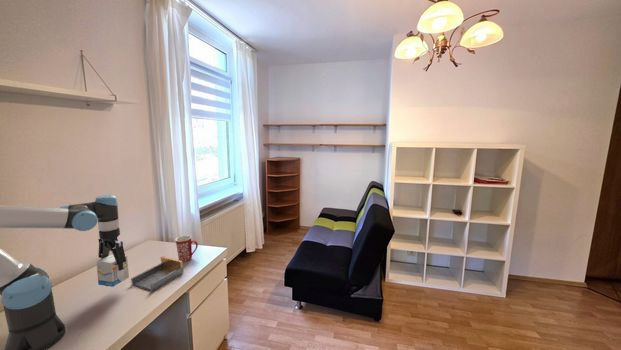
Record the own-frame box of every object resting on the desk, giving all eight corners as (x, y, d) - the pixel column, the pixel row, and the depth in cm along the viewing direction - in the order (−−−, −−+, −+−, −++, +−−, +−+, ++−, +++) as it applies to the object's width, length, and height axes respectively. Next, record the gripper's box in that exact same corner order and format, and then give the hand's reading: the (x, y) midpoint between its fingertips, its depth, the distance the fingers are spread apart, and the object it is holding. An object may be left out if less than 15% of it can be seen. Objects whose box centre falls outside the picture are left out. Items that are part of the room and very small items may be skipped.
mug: (173, 262, 151) (171, 241, 148) (181, 255, 159) (180, 235, 157) (194, 262, 150) (193, 241, 148) (201, 255, 159) (200, 235, 157)
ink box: (112, 287, 115) (110, 263, 113) (97, 284, 116) (95, 261, 115) (129, 277, 123) (127, 254, 122) (115, 275, 125) (113, 253, 123)
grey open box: (152, 291, 123) (151, 278, 121) (131, 284, 128) (130, 272, 127) (183, 272, 139) (182, 261, 138) (163, 267, 145) (162, 256, 143)
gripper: (133, 229, 116) (137, 275, 119) (103, 223, 124) (107, 266, 127) (115, 234, 109) (120, 283, 112) (85, 227, 117) (90, 273, 120)
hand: (113, 274), depth 119 cm, fingers closed on ink box, 9 cm apart
